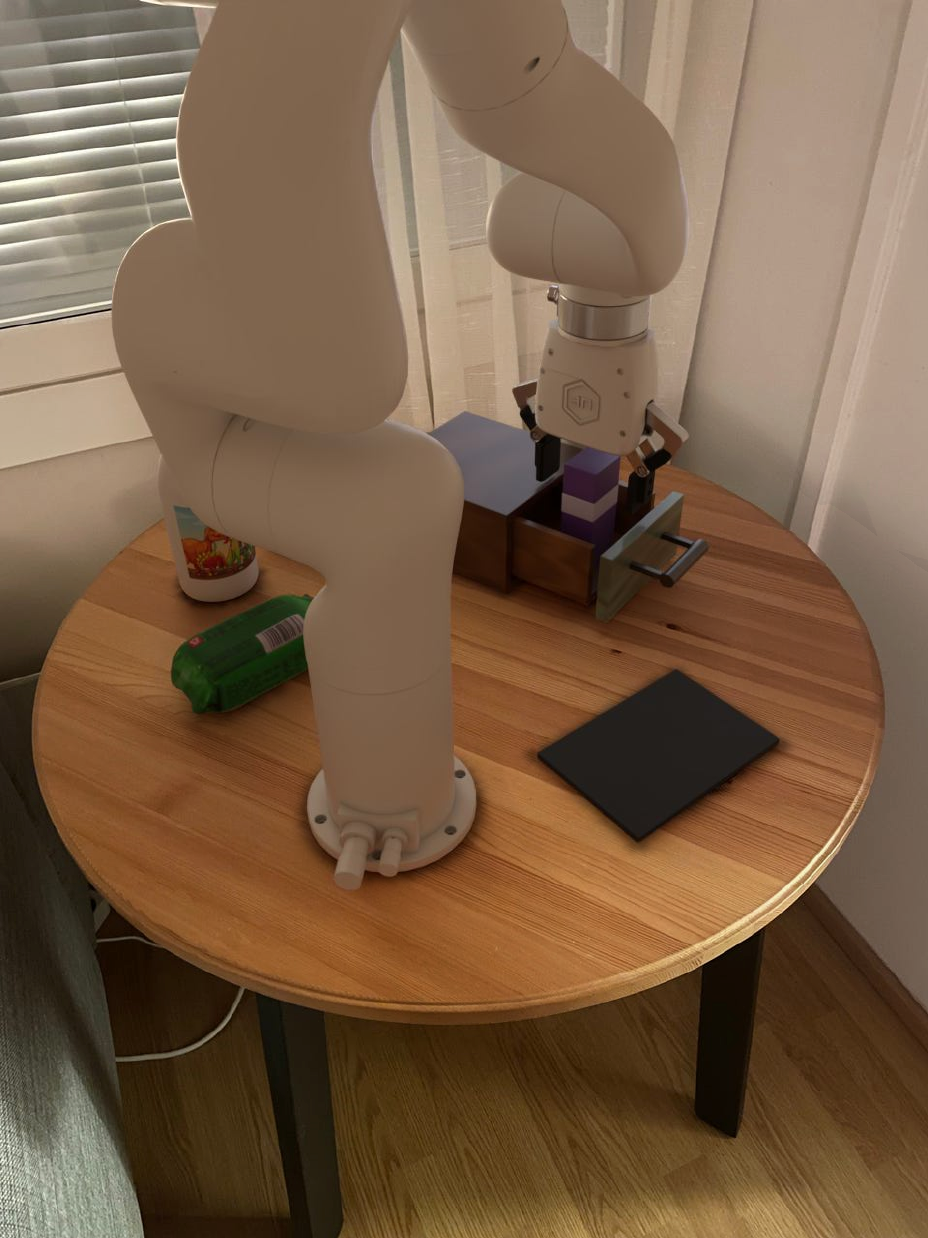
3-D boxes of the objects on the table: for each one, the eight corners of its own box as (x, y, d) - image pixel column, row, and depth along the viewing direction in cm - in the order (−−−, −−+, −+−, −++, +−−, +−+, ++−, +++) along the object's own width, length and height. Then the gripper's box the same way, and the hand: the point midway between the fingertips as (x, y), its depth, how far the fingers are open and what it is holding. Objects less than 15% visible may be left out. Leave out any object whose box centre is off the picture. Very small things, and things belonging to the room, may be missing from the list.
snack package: (359, 654, 90) (355, 607, 87) (205, 736, 82) (193, 688, 78) (314, 618, 94) (308, 572, 91) (163, 693, 86) (150, 646, 83)
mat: (638, 843, 72) (638, 838, 72) (536, 757, 79) (537, 752, 79) (779, 744, 80) (780, 738, 80) (675, 673, 87) (676, 668, 87)
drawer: (718, 569, 97) (728, 508, 93) (650, 641, 89) (658, 578, 85) (552, 509, 107) (554, 451, 102) (476, 569, 98) (476, 508, 94)
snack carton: (582, 539, 100) (589, 444, 93) (612, 550, 98) (621, 455, 92) (558, 559, 97) (563, 464, 91) (589, 571, 95) (596, 475, 89)
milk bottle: (166, 598, 97) (119, 408, 84) (201, 554, 102) (162, 370, 90) (240, 609, 95) (204, 416, 83) (271, 564, 101) (242, 377, 89)
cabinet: (586, 525, 106) (591, 451, 100) (505, 594, 96) (506, 515, 91) (466, 481, 113) (464, 410, 108) (380, 541, 104) (374, 466, 99)
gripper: (491, 304, 85) (492, 480, 95) (676, 351, 76) (654, 539, 87) (540, 277, 89) (536, 448, 100) (720, 320, 81) (694, 501, 92)
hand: (591, 490), depth 93 cm, fingers open, 9 cm apart
